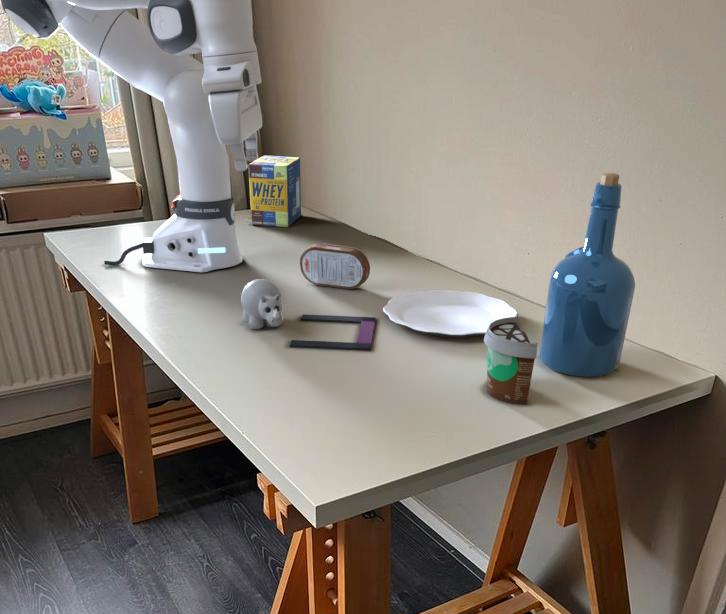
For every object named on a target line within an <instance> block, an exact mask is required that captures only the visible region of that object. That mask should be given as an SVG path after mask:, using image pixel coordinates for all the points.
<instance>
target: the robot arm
mask: <svg viewBox="0 0 726 614" xmlns="http://www.w3.org/2000/svg"><path fill="white" fill-rule="evenodd" d="M0 4H1V7H2V10H3V11H4V13H5V14H6V15H7V16H8V18H9V19H10V21H11V22H12V23H13V24H14V25H15V26H16V28H18V29H19V30H21V31H22V32H24V33H26V34H27V35H30V36H33V37H35V38H37V39H49V38H50V37H51V36H53V35H54V34H55V33H56V32H57V31H58V30H59V29H60V27H61V28H62V29H63V30H64V31H65V32H66V33H67V34H68V36H69V37H70V38H71V39H73V41H75V42H76V44H78V45H79V46H80V47H81V48H82V49H83V50H85V52H87V53H88V54H89V55H90V56H92V57H93V58H94V59H96V60H97V61H98V62H99V63H100V64H102V65H104V66H105V67H107V68H108V69H109V70H110V71H112V72H113V73H114V74H116V75H117V76H119V77H120V78H121V79H123V80H124V81H125V82H127V83H128V84H129V85H131V86H132V87H133V88H136V89H137V90H140V91H142V92H144V93H145V94H148V95H149V96H151V97H153V98H155V99H157V100H158V101H160V102H161V103H163V108H164V112H165V115H166V117H167V123H168V127H169V132H170V137H171V140H172V145H173V149H174V153H175V159H176V166H177V175H178V176H177V177H178V185H179V186H178V187H179V194H178V195H176V196H175V197H174V200H172V202H171V203H170V205H171V208H170V209H171V210H172V211H173V213H174V214H173V215H172V216H170V217H169V218H168V219H167V220H166V221H165V222H164V223H163V224H161V225H160V227H158V228H157V229H156V230H155V231H154V232H153V235H152V237H142V239H141V243H139V244H136V245H133V246H131V247H128V248H127V249H125V250H124V251H123V252H122V253H121V256H120V258H119V259H118V260H116V261H112V260H103V265H105V266H106V265H107V266H119V265H121V264H123V262H125V259H126V257H127V256H128V255H129V254H130V253H132V252H133V251H136V250H139V249H140V250H141V249H142V252H143V257H142V258H141V262H142V266H143V267H146V268H153V269H154V268H155V269H163V270H172V271H173V270H174V271H182V272H184V271H185V272H194V273H208V272H211V271H214V270H221V269H226V268H231V267H235V266H237V265H240V264H241V263H242V262H243V260H244V259H243V256H242V253H241V250H240V245H239V242H238V238H237V234H236V227H235V222H236V207H235V202H234V196H233V195H232V186H231V172H230V171H231V170H230V159H229V155H228V151H227V147H226V146H228V147H229V152H230V154H231V157H232V159H233V163H234V167H235V171H236V172H246V170H248V169H249V164H248V162H254V161H256V160H257V159H259V154H258V152H259V151H258V132H257V131H259V130H260V129H262V128H263V114H262V109H261V103H260V97H259V92H258V87H257V85H260V84H262V76H261V75H262V74H261V68H260V62H259V56H258V55H259V54H258V47H257V45H256V42H255V40H254V36H253V14H252V13H253V11H252V6H251V0H0ZM127 9H147V12H146V13H147V14H146V18H147V24H144V22H142V21H141V20H139V19H138V18H137V17H135V16H134V15H133V14H131V13H130V12H129V11H128V10H127ZM147 25H148V26H147ZM199 54H201V57H202V58H201V59H202V62H200V61H199V60H197V59H196V58H194V56H191V55H199ZM244 144H245V145H244ZM244 148H245V150H244Z"/></svg>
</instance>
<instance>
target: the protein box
mask: <svg viewBox="0 0 726 614" xmlns="http://www.w3.org/2000/svg"><path fill="white" fill-rule="evenodd" d="M248 181H249V184H248V185H249V199H250V200H249V203H250V216H251V217H250V219H251V221H250V222H251V225H252V226H266V227H279V228H280V227H281V228H289V227H290V226H291V225H292V224H293V223H295V221H297V220H298V219H299V218H300V217H301V216H302V195H301V193H302V192H301V190H302V189H301V187H302V185H301V157H296V156H284V155H282V156H281V155H270V154H269V155H267V154H265V155H262V156H261V157H258V159H257V160H256V161H251V162H250V163H249V164H248Z"/></svg>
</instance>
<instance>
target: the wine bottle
mask: <svg viewBox="0 0 726 614" xmlns="http://www.w3.org/2000/svg"><path fill="white" fill-rule="evenodd" d="M619 181H620V175H619V174H618V173H616V172H615V173H614V172H603V173H602V174H601V175H600V181H599V182H597V183H596V184H595V186H594V191H593V194H592V198H591V202H590V203H589V206H590V207H591V208H590V212H589V216H588V223H587V227H586V232H585V236H584V243H583V246H581V247H580V246H579V247H578V248H575V249H573V250H571V252H569V253H567V254H566V255H565V256H564V258H563V259H561V260H560V261H558V262H557V264H555V266H554V267H553V269H552V270H551V272H550V276H549V284H548V290H547V298H546V305H545V312H544V319H543V325H542V331H541V339H540V345H539V357H540V362H541V363H542V364H543V365H545V366H546V367H548V369H550V370H552V371H555V372H559V373H561V374H562V373H563V374H566V375H569V376H577V377H579V376H580V377H587V378H588V377H589V378H591V377H592V378H593V377H598V376H605V375H608V374H610V373H611V372H613V371H615V370H616V369H617V368H618V366H619V365H620V364H621V358H622V352H623V348H624V345H625V344H624V343H625V339H626V333H627V329H628V324H629V319H630V314H631V308H632V304H633V299H634V295H635V289H636V281H635V277H634V274H633V271H632V270H631V267H630V266H629V265H628V264H627V263H626V262H625V261H624V260H622V259H621V258H619V257H618V256H616V255H615V254H614V252H613V246H614V241H615V234H616V228H617V227H616V226H617V222H618V221H617V220H618V213H619V209H621V199H622V187H623V186H622V184H621V183H619Z"/></svg>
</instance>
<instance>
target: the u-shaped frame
mask: <svg viewBox="0 0 726 614" xmlns="http://www.w3.org/2000/svg"><path fill="white" fill-rule="evenodd" d="M376 319H377V318H376V317H373V316H351V315H349V316H348V315H329V314H327V315H326V314H304V313H303V314H302V315H301V317H300V321H301V322H319V323H321V322H322V323H323V322H326V323H345V324H346V323H347V324H348V323H349V324H360V327H359V331H358V335H357V341H356V342H348V341H324V340H306V339H305V340H303V339H301V340H300V339H291V341H290V343H289V348H298V349H299V348H300V349H322V350H323V349H324V350H326V349H327V350H346V351H366V352H369V351H371V349H372V342H373V338H374V337H373V336H374V332H375V331H374V330H375V325H376Z"/></svg>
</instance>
